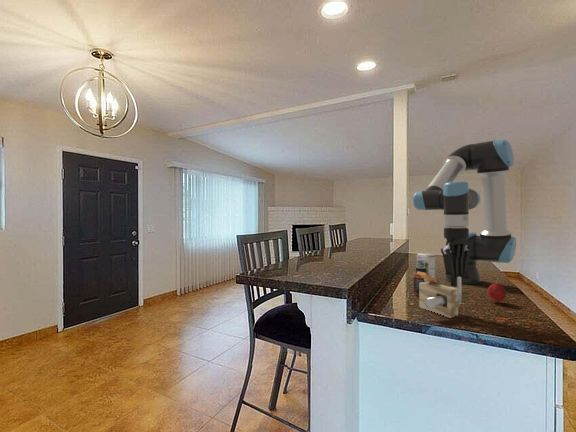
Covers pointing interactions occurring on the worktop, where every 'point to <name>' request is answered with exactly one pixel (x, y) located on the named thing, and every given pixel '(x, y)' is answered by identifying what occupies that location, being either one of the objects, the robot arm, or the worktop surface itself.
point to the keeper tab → (427, 277)
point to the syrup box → (427, 263)
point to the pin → (439, 301)
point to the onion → (496, 292)
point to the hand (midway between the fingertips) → (456, 295)
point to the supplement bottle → (418, 279)
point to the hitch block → (437, 290)
